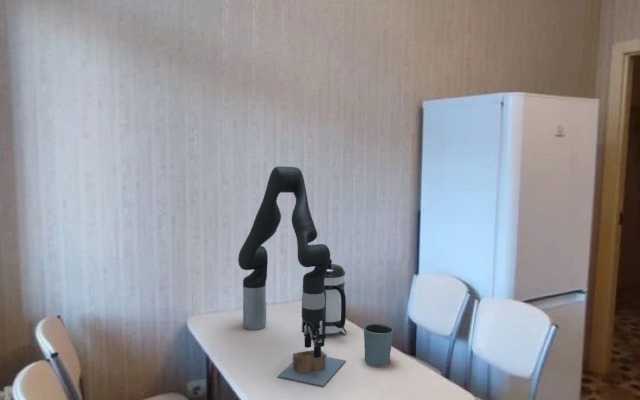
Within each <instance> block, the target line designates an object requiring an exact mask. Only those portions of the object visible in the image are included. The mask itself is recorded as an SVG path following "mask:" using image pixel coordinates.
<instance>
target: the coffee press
mask: <svg viewBox="0 0 640 400" xmlns="http://www.w3.org/2000/svg"><path fill="white" fill-rule="evenodd" d="M332 262H333V260H332V259H331V258H330V262H329V265H328V268H327V272H326V276H325V280H324V296H325V314H324V319H323V320H322V321H320V327H321V328H324V340H326V336H327V334H328V335H330V334H331V335H332V334H336V333H340V334H342V336H345V335H347V330H346V329H345V324H346V318H347V317H346V316H347V315H346V314H347V313H346V310H347V305H346V304H347V302H346V301H347V298H346V294H345V285H346V284H345V283H346V282H345V276H346V271H345V270H344V268H343V267H342V266H341V265H339V264H336V263H335V264H334V263H332ZM342 330H343V331H342Z"/></svg>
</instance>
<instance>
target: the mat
mask: <svg viewBox="0 0 640 400" xmlns="http://www.w3.org/2000/svg"><path fill="white" fill-rule="evenodd" d="M345 364H346V360H345V359H340V358H337V357H335V358H334V357H330V356H327V366H326V369H325V370H319V371H314V372H308V373H302V374H297V372H296V371H295V370H294V369H293V361H292V362H291V363H290V364H289V365H288V366H286V367H285V368H284V369H283V370H282V371H281V372H280V373H279V374H278V375H277V376H276V377H277V379H281V380H287V381H292V382H295V383H296V382H297V383H300V384H306V385H309V386H315V387H321V388H325V387H326V385H328V383H329V382H330V381H331V379H332V378H333V377H335V376H336V373H338V372H339V370H341V368H342V367H343V366H344V365H345Z"/></svg>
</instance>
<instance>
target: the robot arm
mask: <svg viewBox="0 0 640 400" xmlns="http://www.w3.org/2000/svg"><path fill="white" fill-rule="evenodd" d="M281 193H292V194H293V195H294V198H295V205H294V208H293V211H292V214H291V223H292V228H293V231H294V233H295V237H296V245H297V246H296V247H297V260H298V263H299V265H301V266H302V267H303V268H311V267H314V268H313V270H311V271H308V272H307V273H305V274H303V278H302V296H301V321H302V322H301V332H302V333H303V337H304V348H305V349H307V348H308V349H309V348H311V347H312V344H313V350H314V357H315V358H319V357H321V350H322V347H325V339H324V328H321V327H320V321H322V320H323V319H324V314H325V296H324V280H325V276H326V272H327V268H328V265H329V262H330V259H331V252H330V251H331V250H330V249H329V246H328V245H326V244H325V243H318V244H317V243H316V244H310V243H312V242H313V241H315V240H317V237H318V232H317V228H316V225H315V222H314V220H313V217H312V213H311V211H310V206H309V200H308V195H307V194H308V193H307V189H306V184H305V177H304V175H303V172H302V170H301V169H300V168H298V167H295V166H281V165H280V166H275V167H273V169H272V170H271V172H270V174H269V178H268V181H267V185H266V188H265V192H264V196H263V198H262V201H261V204H260V206H259V208H258V211H257V213H256V215H255V218H254V219H253V220H254V221H253V223H252V227H251V228H250V231H249V233H248V235H247V237H246V239H245V241H244V243H243V245H242V246H241V248H240V250H239V253H238V266H239V267H240V269H242V270H244V271H251V270H253V271H252V272H251V273H250V274H248V275H247V276H246V277H244V278H243V280H242V311H243V312H242V327H243V328H244V329H246V330H249V331H252V330H253V331H255V330H256V331H257V330H262V329H264V328H266V324H267V298H266V297H267V296H266V295H267V294H266V292H267V289H266V287H267V286H266V285H267V278H268V262H269V260H268V259H269V257H268V251H267V250H266V247H265V246H263V245H264V243H266V242H267V241H268V240H270V239H271V238H272V237H273V236H274V235H275V234H276V232H277V230H278V228H279V225H280V223H281V220H282V214H281V213H282V212H281V209H280V208H279V205H278V202H277V200H278V197H279V195H280V194H281Z"/></svg>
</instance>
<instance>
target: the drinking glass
mask: <svg viewBox="0 0 640 400" xmlns="http://www.w3.org/2000/svg"><path fill="white" fill-rule="evenodd" d="M363 336H364V337H363V342H364V345H363V346H364V362H365V364H366V365H368V366H370V367H373V368H374V367H375V368H376V367H377V368H378V367H379V368H382V366H383V367H386V366H388V365H389V364H390V362H391V361H390V360H391V351H392V343H393V336H394V328H393V327H392V326H390V325H389V324H384V323H378V322H375V323H373V322H372V323H367V324H366V325H364V326H363ZM387 364H388V365H387ZM385 365H386V366H385Z"/></svg>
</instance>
